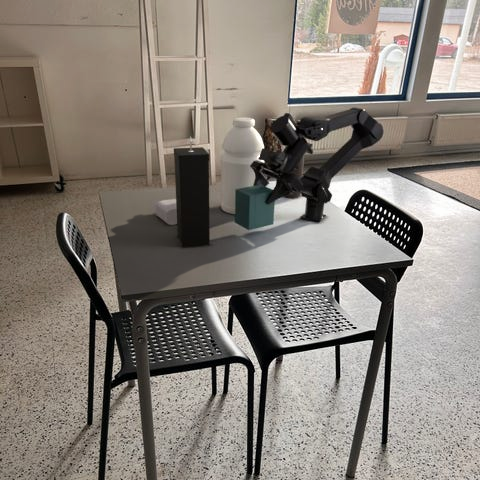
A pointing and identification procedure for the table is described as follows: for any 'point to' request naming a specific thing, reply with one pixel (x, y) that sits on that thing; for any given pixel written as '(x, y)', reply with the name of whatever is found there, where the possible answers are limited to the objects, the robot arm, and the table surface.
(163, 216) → the charger
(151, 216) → the table surface
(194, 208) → the tall black block
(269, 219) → the teal box
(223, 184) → the bottle
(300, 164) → the bottle
